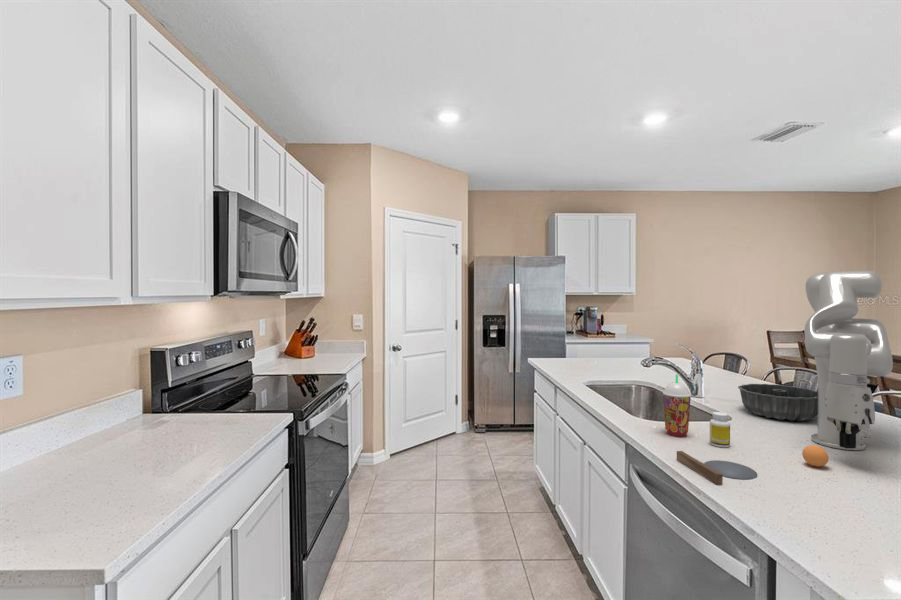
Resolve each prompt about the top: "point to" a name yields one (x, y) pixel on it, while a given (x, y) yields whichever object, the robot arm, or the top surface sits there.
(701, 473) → the rail
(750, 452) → the top surface
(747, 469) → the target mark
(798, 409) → the bundt pan
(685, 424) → the smoothie
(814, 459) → the ball
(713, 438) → the supplement bottle
